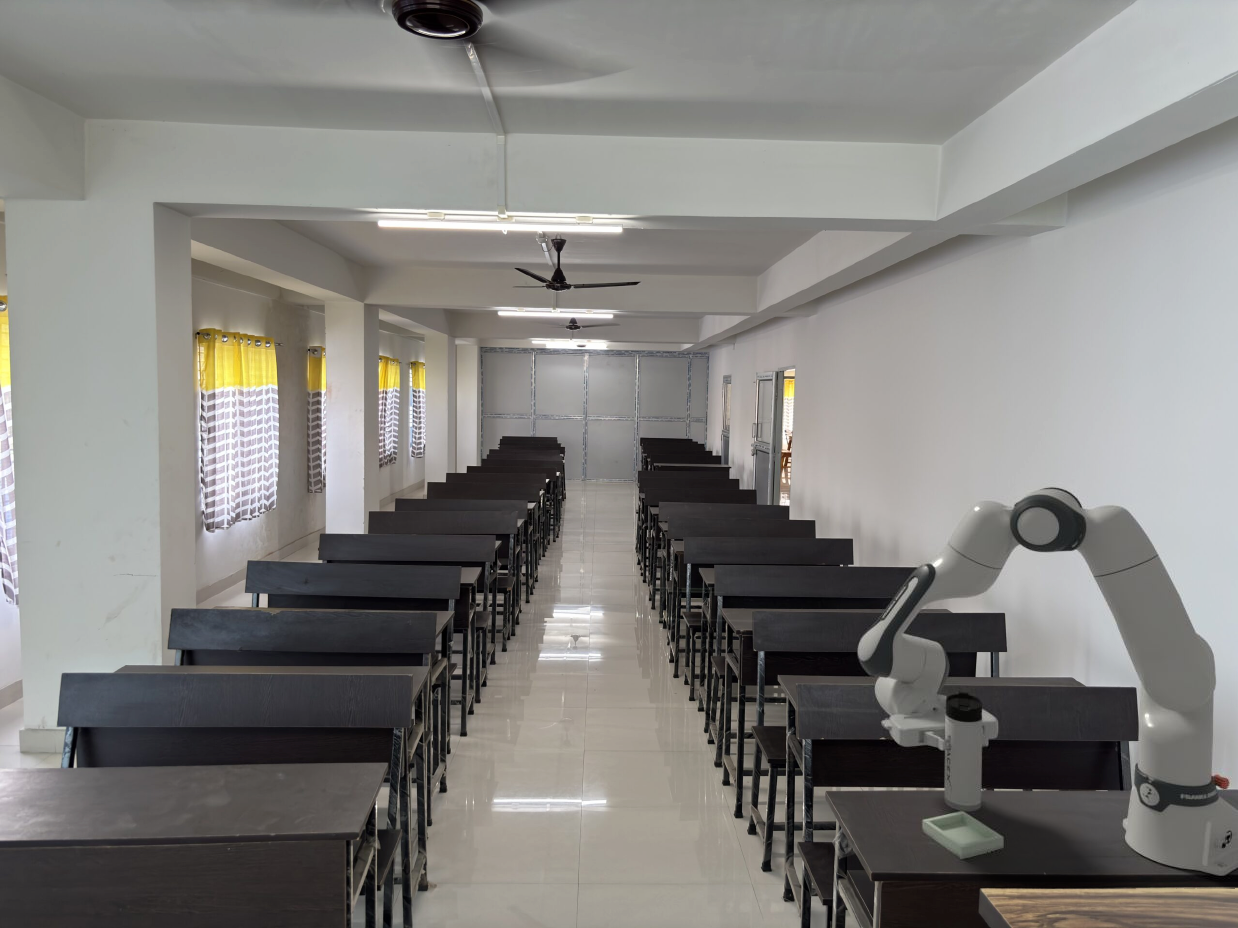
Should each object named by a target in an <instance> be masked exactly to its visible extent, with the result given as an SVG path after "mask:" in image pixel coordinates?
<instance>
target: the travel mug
mask: <svg viewBox="0 0 1238 928" xmlns="http://www.w3.org/2000/svg"><path fill="white" fill-rule="evenodd" d="M947 696H948V697H947V698H946V714H945V716H946V718H945V738H946V739H947V740H949V741H950V745H949V746H950V749H949V750H944V799H943V800H944V802H945V804H947V806H949V807H950V808H952V809H954V810H958V811H964V812H974V811H978V810H979V809H980V808H981V807H982V774H983V773H982V772H983V769H982V768H983V767H982V764H983V763H982V762H983V761H982V760H983V755H982V753H983V747H982V709H983V702H982V700H981V699H980V698H978V697H976V696H974V695H971V694H969V692H965V691H964V692H963V691H959V692H958V693H953V694H950V695H947Z"/></svg>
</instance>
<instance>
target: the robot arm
mask: <svg viewBox="0 0 1238 928" xmlns="http://www.w3.org/2000/svg"><path fill="white" fill-rule="evenodd" d="M1082 505H1083V504H1081V502H1080V500H1079V499H1078V498H1077V497H1076V496H1075V494H1073V493H1072V492H1070V491H1069V490H1066V489H1063V488H1060V487H1056V486H1055V487H1054V486H1052V487H1044V488H1041V489H1040V488H1039V489H1037V490H1034V491H1032V492H1029V493H1028V494H1026V495H1025V496H1024V497H1023V498H1022V499H1020V500H1019V501H1017V502H1015V503H1014V505H1013V506H1008V505H1005V504H1003V503H1000V502H997V501H994V500H993V501H992V500H982V501H978V502H976V503H975V504H974V505H972V506H971V507H970V508H969V510H968V511H967V512H966V513H965V515H964V516H963V517H962V519H961V520H960V522H959V523H958V524H957V526H956V528H955V529H954V531H953V533H952V534H951V536H950V538H949V540H948V542H947V543H946V545H945V546H944V548H943V550H942V551H941V552H940V553H939V554H938V555H936V557H934V558H933V559H932V560H930V561H929V562H927V563H924V564H921V565H919V566H918V567H917V568H916V569H915V570H914V571H913V572H912V573H911V574H910V575H909V577H907V579H906V581H905V582H904V583H903V585H902V586H901V587H900V589H899V590H898V591H897V592H896V594H895V595H894V597H893V598H892V599H891V601H889V604H888V605H886V608H885V609H884V611H882V614H881V615H880V616H879V617H878V618H877V620H876V621H875V622H874V623H873V624H872V625H871V626H870V627H869V628H868V629H867V630H866V631H864V633H863V634H862V636H861V637H860V639H859V641H858V643H857V644H858V645H857V648H856V651H857V652H856V655H857V659H858V661H859V663H860V665H861V667H862V669H864V671H865V672H866V673H867V674H868V675H869V676H871V677H877V679H876V682H875V685H874V693H875V697H876V699H877V701H878V704H879V705H880V707H881V708H882V709H883V710H884V711H885V712H886V713H887V715H889V717H886V718H885V719H884V720H881V726H883V728H884V729H886V730H888V731H889V734H890V736H891V737H892V739H893V740H894V742H896V743H897V744H898V745H899V746H901V747H905V748H907V747H917V746H931V747H934V748H938V749H939V750H940V751H945V750H949V749H950V746H949V745H950V741H949V740H947V739H946V738H945V718H946V716H945V714H946V698H947V697H948V696H949V695H943V694H940V693H941V691H942V689H944V686H945V685H946V682H947V679H948V677H949V672H950V661H949V658H948V655H947V652H946V650H945V649H944V647H943V646H942V645H941V643H940V642H938V641H935V640H934V641H933V640H930V639H927V638H923V637H919V636H914V635H910V634H907V633H905V631H906V630H907V629H908V627H909V626H910V624H911V623H912V622H913V621H914V619H915V618H916V616H917V615H918V614H919V612H920V611H921V610H922V609H923V608H924V607H926V606H927V605H928V604H932V603H934V602H939V601H942V600H943V601H944V600H950V599H966V598H972V597H977V596H980V595H982V594H984V593H986V592H988V590H990V588H991V587H992V586H994V584H995V583H996V581H997V579H998V578H999V576H1000V574H1001V572H1002V570H1003V569H1004V566H1005V564H1006V563H1007V561H1008V559H1009V558H1010V555H1011V554H1012V553H1013V551H1014V550H1015V549H1016V548H1017V547H1018V546H1020V545H1021V546H1022V547H1023V548H1025V549H1027V550H1029V551H1033V552H1038V553H1055V552H1057V553H1058V552H1073V551H1075V550H1076V551H1077V552H1078V553H1079V554H1081V556H1082V557H1083V560H1084V561H1085V562H1086V564H1087V566H1088V568H1089V570H1090V572H1091V574H1092V576H1093V579H1094V580H1095V583H1096V585H1097V586H1098V589H1099V590H1100V592H1101V594H1102V596H1103V598H1104V600H1105V602H1106V603H1107V606H1108V608H1109V610H1110V612H1111V614H1112V616H1113V619H1114V621H1115V623H1116V627H1117V629H1118V631H1119V633H1120V636H1121V638H1122V641H1123V644H1124V646H1125V649H1126V651H1127V654H1128V656H1129V657H1130V658H1129V659H1130V661H1131V662H1132V665H1133V667H1134V669H1135V671H1136V673H1137V676H1138V679H1139V681H1140V698H1139V699H1140V700H1139V701H1140V702H1139V716H1138V717H1139V719H1138V744H1137V745H1138V748H1137V763H1135V764H1134V765H1135V766H1134V771H1133V776H1134V777H1133V778H1134V779H1133V780H1134V782H1133V784H1134V785H1133V786H1132V788H1131V791H1130V798H1129V802H1128V803H1129V805H1128V812H1127V818H1123V821H1122V827H1123V828H1124V830H1125V835H1124V839H1125V842H1126V843H1127V845H1128V846H1129V847H1130V848H1131V849H1133V850H1134V851H1135V852H1137V853H1138V854H1140V855H1142V856H1144V857H1145V858H1147V859H1150V860H1152V861H1155V862H1157V863H1159V864H1162V865H1166V866H1170V867H1175V868H1178V869H1185V870H1193V871H1201V872H1204V873H1208V874H1212V875H1215V876H1226V875H1228V874H1229V873H1231V872H1232V871H1234V870H1236V869H1238V810H1237V809H1236V808H1235V807H1233V805H1231V804H1230V803H1228V802H1227V801H1226V800H1225V799H1224V798H1222V797H1221V796H1220V795H1219V793H1218V792H1219V791H1218V788H1217V787H1219V788H1220V789H1222V790H1227V789H1228V788H1229V787H1230V780H1229V778H1227V777H1224V776H1221V775H1219V774H1215V775H1212V774H1213V772H1212V771H1213V751H1214V750H1213V749H1214V747H1213V745H1214V740H1213V739H1214V696H1215V695H1214V693H1215V690H1216V686H1217V677H1216V675H1217V674H1216V664H1215V663H1216V661H1215V655H1214V652H1213V650H1212V648H1211V646H1210V644H1209V643H1208V642H1207V641H1206V640H1205V639H1204V637H1202V636H1201V635H1200V634H1199V633H1197V631H1196V630H1195V628H1194V625H1193V623H1192V620H1191V619H1190V617H1189V614H1188V612H1187V610H1186V607H1185V606H1184V603H1183V601H1182V598H1181V596H1180V594H1179V592H1178V590H1177V588H1176V586H1175V584H1174V583H1173V580H1172V579H1171V577H1170V574H1169V573H1168V571H1167V568H1166V567H1165V565H1164V563H1163V561H1162V560H1161V558H1160V555H1159V554H1158V551H1157V549H1156V548H1155V546H1154V545H1153V543H1152V541H1151V539H1150V538H1149V536H1148V535H1147V533H1146V531H1144V529H1143V528H1142V526H1141V525H1140V523H1139V522H1138V521H1137V520H1136V518H1135V517H1134V516H1133V515H1132V513H1131V512H1130V511H1129V510H1128V509H1127V508H1124V507H1122V506H1119V505H1102V506H1097V507H1095V508H1089V509H1085V508H1083V506H1082ZM998 735H999V721H998V719H997V717H995V716H994V715H993V714H991V713H990V712H988V711H987V710H986V709H983V708H982V748H983V747H988V746H989V740H992V739H993V740H994V739H997V738H998Z"/></svg>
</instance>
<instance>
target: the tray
mask: <svg viewBox="0 0 1238 928" xmlns="http://www.w3.org/2000/svg"><path fill="white" fill-rule="evenodd" d="M921 821H922V822H921V823H922V832H923V833H924V834H925V835H927V836H929V838H931V839H933V840H934V841H936V842H937V843H938V844H939V845H941V846H943V847H944V848H946V849H947V850H948V851H949V852H951V853H952V854H953V855H955V856H956V857H958V859H960V860H963V859H967V858H971V857H976V856H979V855H984V854H988V853H991V851H993V852H995V851H994V850H997V849H1000V848H1003V849H1004V841H1005V840H1004V836H1002V835H1001V834H1000V833H998V832H997V831H995V830H993V829H992V828H990V827H988V826H987V825H985V824H984V823H983V822H981V821H979V820H978V819H976V818H975V817H973V816H971V815H970V814H968V813H967V812H966V811H961V810H959V811H956V812H952V813H948V814H943V815H939V816H934V817H930V818H925V819H922V820H921ZM997 851H998V850H997ZM987 852H988V853H987Z"/></svg>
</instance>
